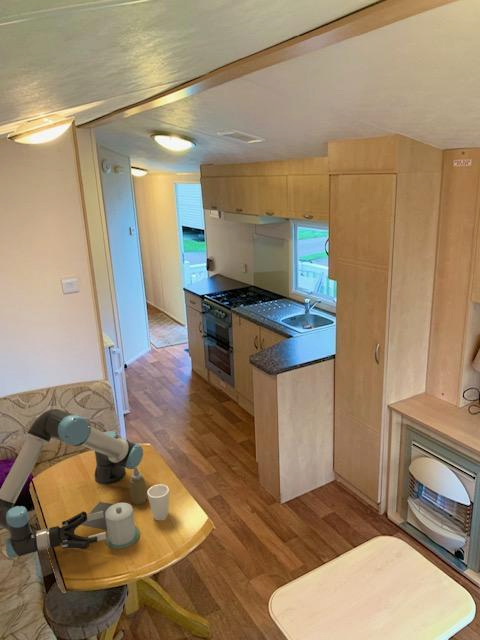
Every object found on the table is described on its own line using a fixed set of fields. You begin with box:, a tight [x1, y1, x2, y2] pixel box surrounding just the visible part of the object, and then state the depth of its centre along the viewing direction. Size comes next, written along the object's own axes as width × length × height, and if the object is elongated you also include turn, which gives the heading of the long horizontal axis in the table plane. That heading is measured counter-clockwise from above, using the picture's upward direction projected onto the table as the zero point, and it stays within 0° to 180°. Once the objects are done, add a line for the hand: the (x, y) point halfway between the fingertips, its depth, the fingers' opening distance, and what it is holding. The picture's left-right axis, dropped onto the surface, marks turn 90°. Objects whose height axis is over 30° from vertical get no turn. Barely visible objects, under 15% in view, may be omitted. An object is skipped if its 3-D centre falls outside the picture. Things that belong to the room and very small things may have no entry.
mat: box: [80, 501, 115, 531], centre depth 220 cm, size 16×14×1 cm
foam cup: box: [147, 483, 170, 522], centre depth 217 cm, size 10×9×13 cm
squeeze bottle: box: [129, 466, 148, 506], centre depth 226 cm, size 8×8×18 cm
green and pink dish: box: [104, 525, 141, 550], centre depth 206 cm, size 14×14×5 cm
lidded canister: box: [105, 502, 136, 545], centre depth 205 cm, size 11×11×14 cm
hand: (104, 524), depth 202 cm, fingers open, 13 cm apart
